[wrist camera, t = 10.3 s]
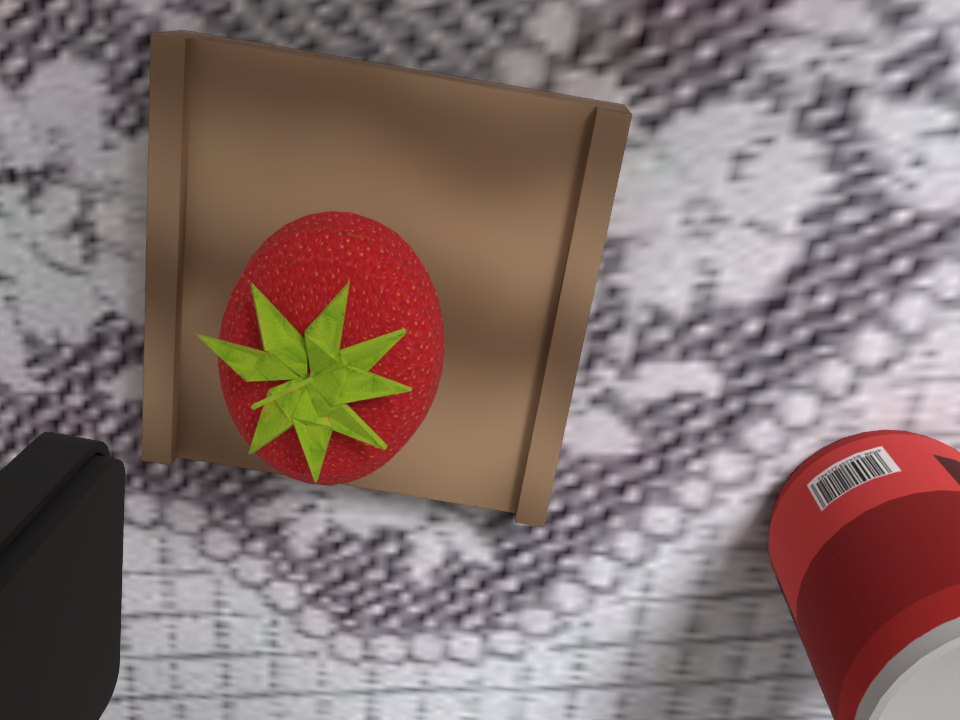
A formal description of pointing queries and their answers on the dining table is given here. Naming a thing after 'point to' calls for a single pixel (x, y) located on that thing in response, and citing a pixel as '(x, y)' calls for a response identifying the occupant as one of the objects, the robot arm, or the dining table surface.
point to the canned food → (875, 573)
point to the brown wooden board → (404, 209)
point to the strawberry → (330, 348)
